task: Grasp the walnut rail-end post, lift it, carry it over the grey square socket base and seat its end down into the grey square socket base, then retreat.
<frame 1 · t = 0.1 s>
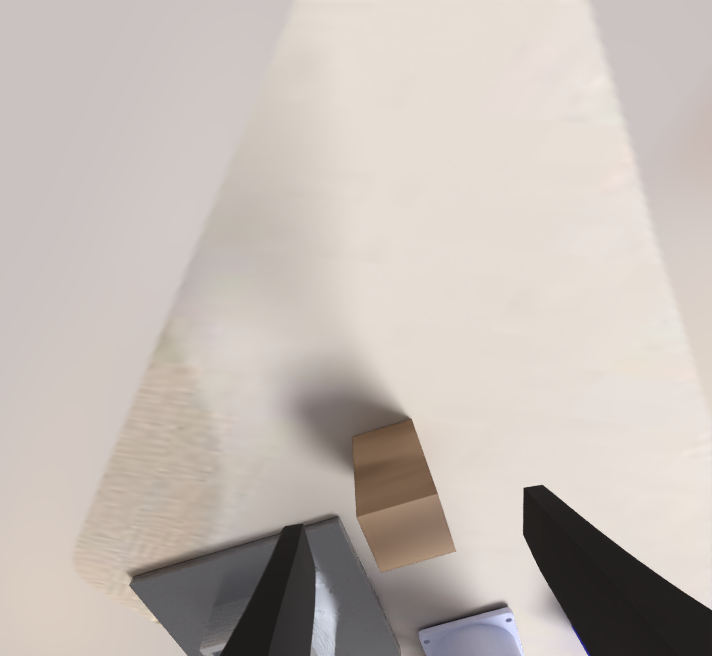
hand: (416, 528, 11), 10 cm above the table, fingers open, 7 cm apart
rail end post: (390, 451, 22), on the table
grey square socket base: (277, 614, 26), on the table
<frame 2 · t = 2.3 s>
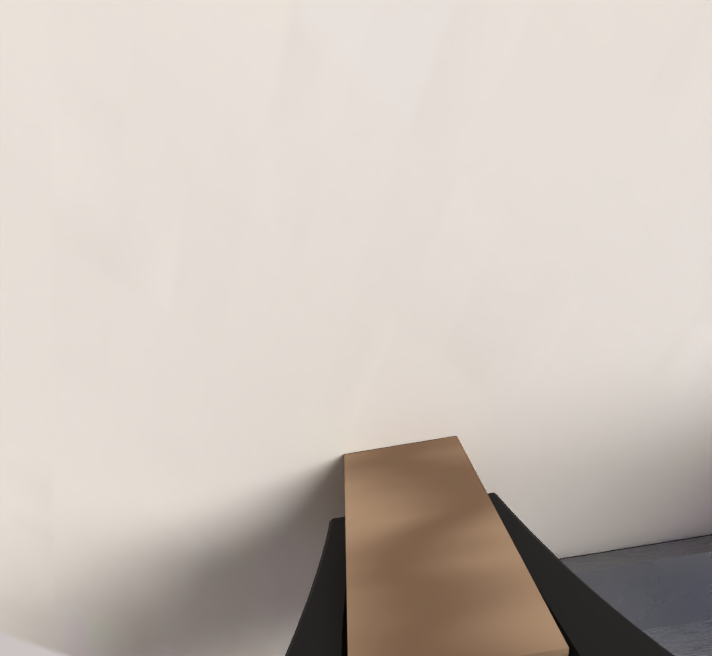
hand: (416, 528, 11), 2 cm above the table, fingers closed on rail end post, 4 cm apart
rail end post: (406, 489, 12), on the table, touching gripper
grey square socket base: (674, 653, 16), on the table
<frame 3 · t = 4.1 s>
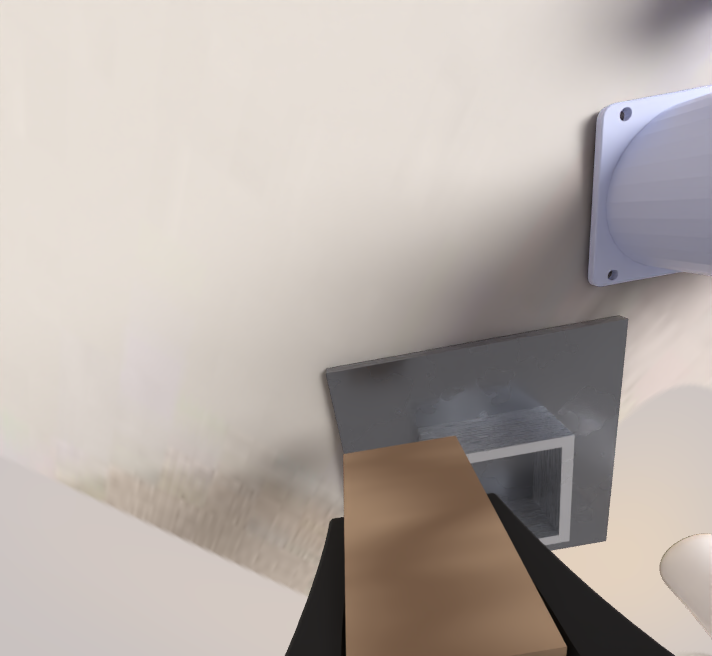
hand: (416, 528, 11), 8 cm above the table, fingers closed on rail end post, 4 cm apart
drinking glass: (687, 553, 24), on the table
rail end post: (405, 488, 12), point 7 cm above the table, touching gripper
grey square socket base: (479, 460, 20), on the table
when the fingers open (4 cm above the table, at t = 6.3 s): rail end post drops 2 cm, resting on grey square socket base.
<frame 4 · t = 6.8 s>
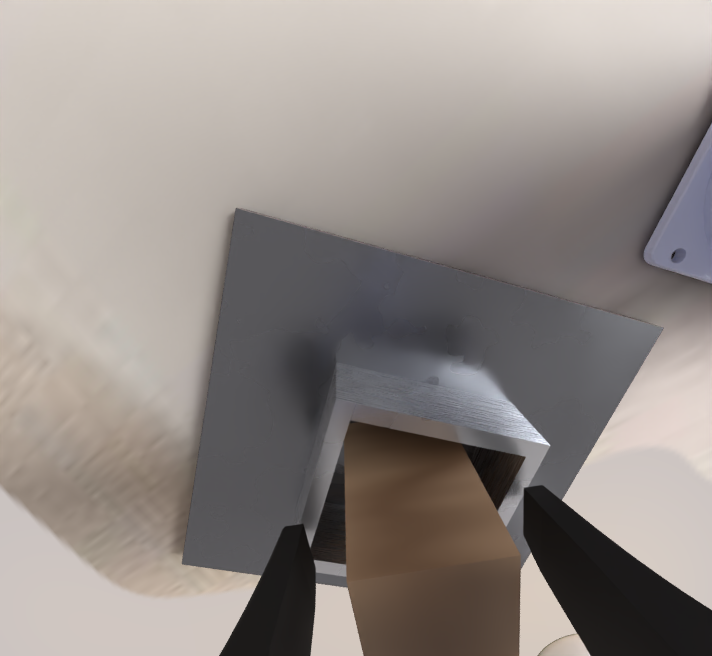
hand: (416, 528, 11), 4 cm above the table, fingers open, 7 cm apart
drinking glass: (570, 652, 20), on the table
rail end post: (398, 457, 14), point 1 cm above the table, touching grey square socket base
grey square socket base: (396, 448, 14), on the table
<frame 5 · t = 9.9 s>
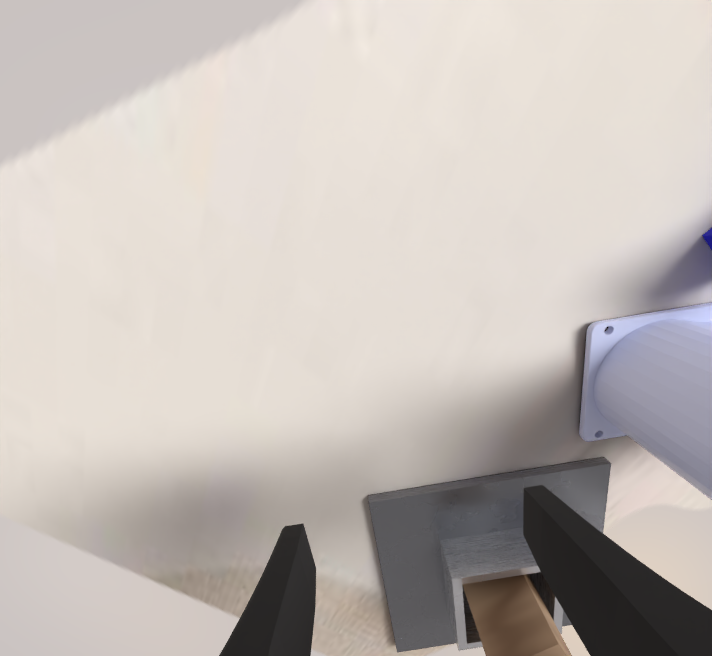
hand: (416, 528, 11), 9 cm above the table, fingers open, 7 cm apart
rail end post: (492, 568, 24), point 1 cm above the table, touching grey square socket base
grey square socket base: (488, 560, 25), on the table
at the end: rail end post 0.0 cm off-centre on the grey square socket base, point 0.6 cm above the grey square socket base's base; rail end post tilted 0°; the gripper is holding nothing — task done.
